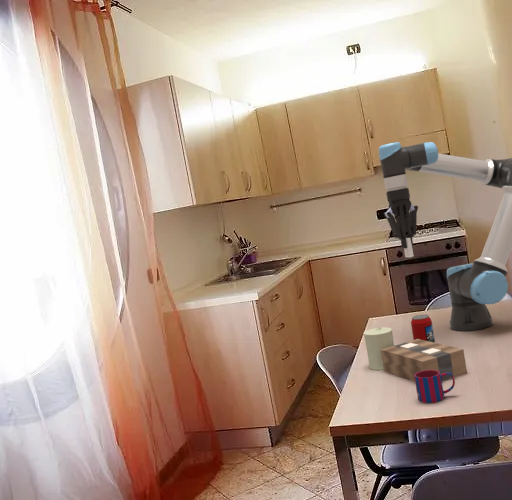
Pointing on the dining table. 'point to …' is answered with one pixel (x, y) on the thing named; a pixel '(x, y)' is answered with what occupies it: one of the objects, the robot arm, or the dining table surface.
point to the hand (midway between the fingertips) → (409, 256)
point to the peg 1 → (409, 346)
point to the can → (377, 345)
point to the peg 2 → (431, 351)
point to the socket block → (423, 360)
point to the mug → (431, 385)
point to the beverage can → (422, 328)
